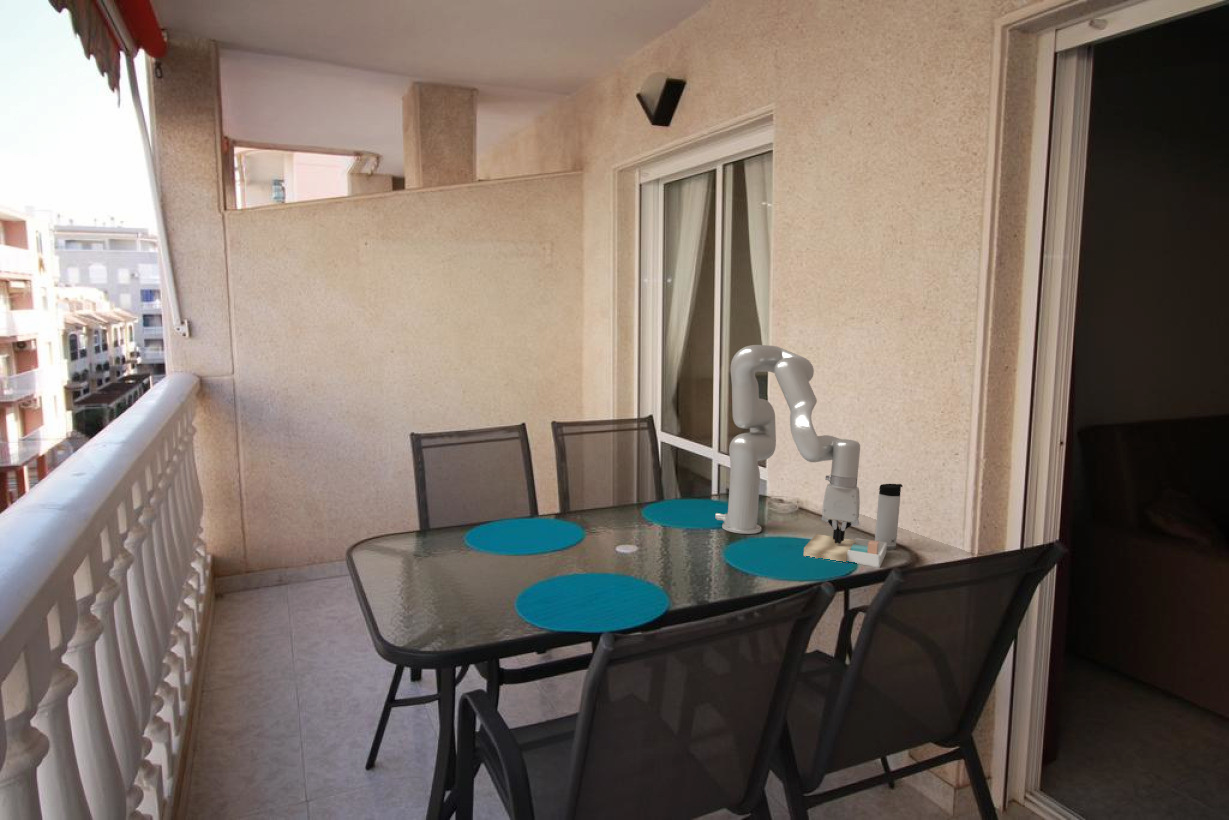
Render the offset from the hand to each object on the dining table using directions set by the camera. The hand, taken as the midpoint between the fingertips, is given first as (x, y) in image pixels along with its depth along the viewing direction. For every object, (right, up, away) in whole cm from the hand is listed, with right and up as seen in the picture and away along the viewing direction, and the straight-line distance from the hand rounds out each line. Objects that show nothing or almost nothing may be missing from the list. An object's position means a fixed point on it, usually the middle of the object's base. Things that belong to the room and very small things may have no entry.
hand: (838, 542), depth 227 cm
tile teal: (+6, -3, -2) cm, 7 cm away
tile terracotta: (+8, -1, -4) cm, 9 cm away
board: (-2, -3, +1) cm, 4 cm away
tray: (+7, -4, -3) cm, 9 cm away
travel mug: (+17, -3, +10) cm, 20 cm away
